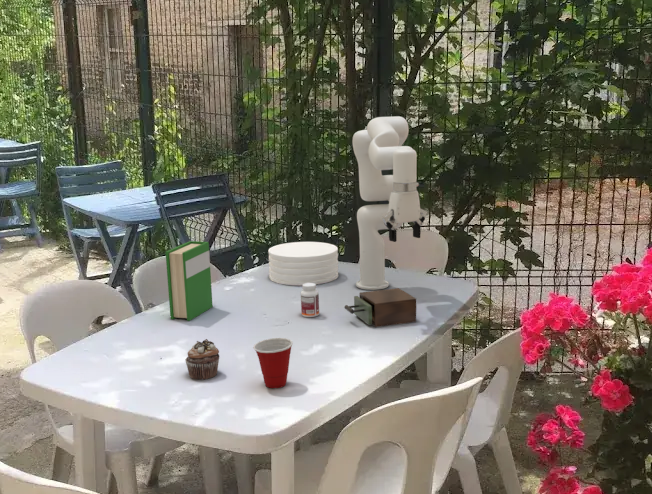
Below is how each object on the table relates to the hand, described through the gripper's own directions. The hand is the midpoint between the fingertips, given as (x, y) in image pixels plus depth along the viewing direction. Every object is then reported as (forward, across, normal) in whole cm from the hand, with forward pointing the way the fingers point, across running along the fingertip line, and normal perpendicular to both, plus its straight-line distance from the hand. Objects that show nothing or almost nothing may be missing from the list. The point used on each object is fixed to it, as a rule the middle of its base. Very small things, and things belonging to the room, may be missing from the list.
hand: (404, 239), depth 282 cm
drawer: (+27, +9, -5) cm, 29 cm away
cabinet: (+28, +4, -4) cm, 28 cm away
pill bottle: (+28, +24, -23) cm, 43 cm away
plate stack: (+27, -2, -71) cm, 76 cm away
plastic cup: (+28, +64, +27) cm, 75 cm away
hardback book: (+28, +56, -50) cm, 80 cm away
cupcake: (+28, +78, +9) cm, 83 cm away
